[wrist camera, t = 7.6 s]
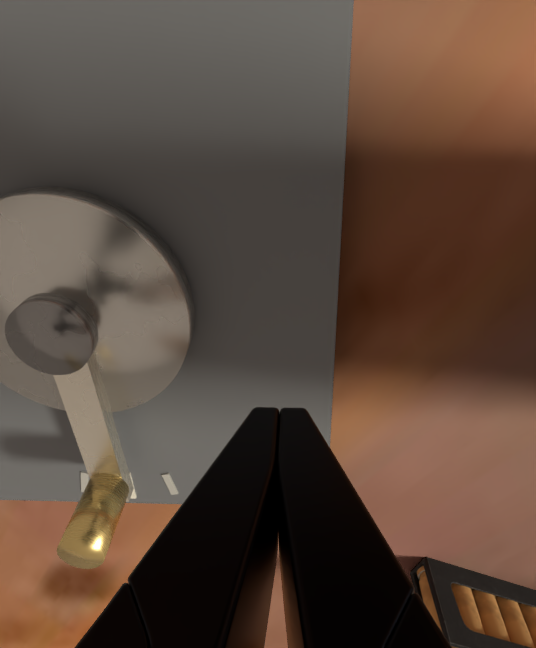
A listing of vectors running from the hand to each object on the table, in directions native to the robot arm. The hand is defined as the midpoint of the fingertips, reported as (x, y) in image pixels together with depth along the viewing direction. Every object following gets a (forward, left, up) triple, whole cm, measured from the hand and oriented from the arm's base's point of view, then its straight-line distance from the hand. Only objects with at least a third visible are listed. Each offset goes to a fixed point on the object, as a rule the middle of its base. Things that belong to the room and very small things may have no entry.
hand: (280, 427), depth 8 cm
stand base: (+4, -9, -13) cm, 16 cm away
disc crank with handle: (+6, -9, -11) cm, 16 cm away
